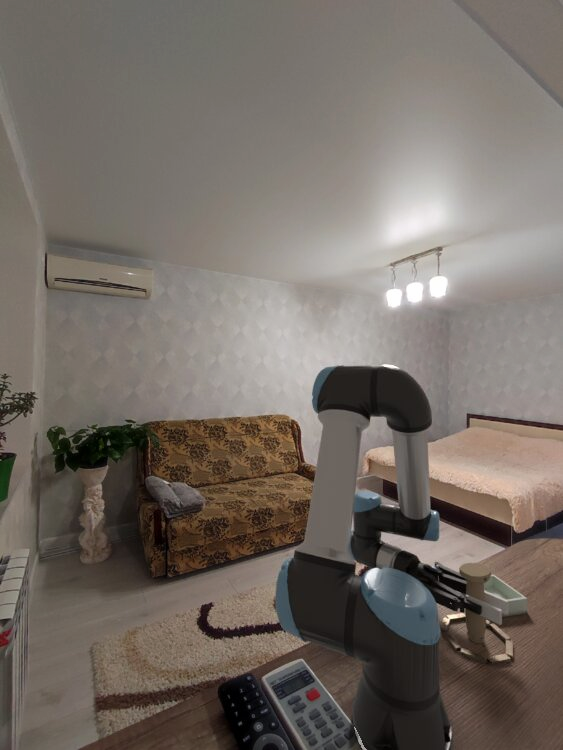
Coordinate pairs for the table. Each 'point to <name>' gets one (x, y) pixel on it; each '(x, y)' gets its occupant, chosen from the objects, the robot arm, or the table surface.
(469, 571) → the handle
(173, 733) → the table surface
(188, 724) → the table surface
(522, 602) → the bin
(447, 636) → the collar ring
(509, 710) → the table surface
